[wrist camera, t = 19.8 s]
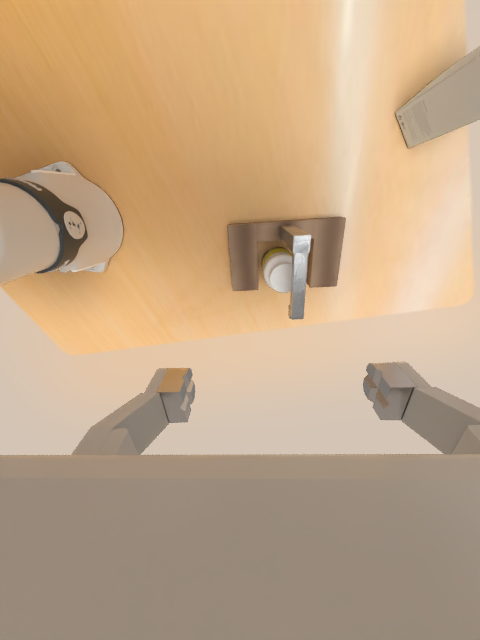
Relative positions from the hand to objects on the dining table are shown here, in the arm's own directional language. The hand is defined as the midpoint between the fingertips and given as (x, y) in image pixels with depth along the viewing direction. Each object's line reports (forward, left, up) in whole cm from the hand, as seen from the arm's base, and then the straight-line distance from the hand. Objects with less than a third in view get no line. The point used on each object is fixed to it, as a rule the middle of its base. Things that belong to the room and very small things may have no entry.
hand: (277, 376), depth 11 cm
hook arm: (+5, -2, -37) cm, 37 cm away
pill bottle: (+4, -4, -37) cm, 38 cm away
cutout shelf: (+5, -2, -37) cm, 37 cm away
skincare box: (+26, +18, -37) cm, 49 cm away
